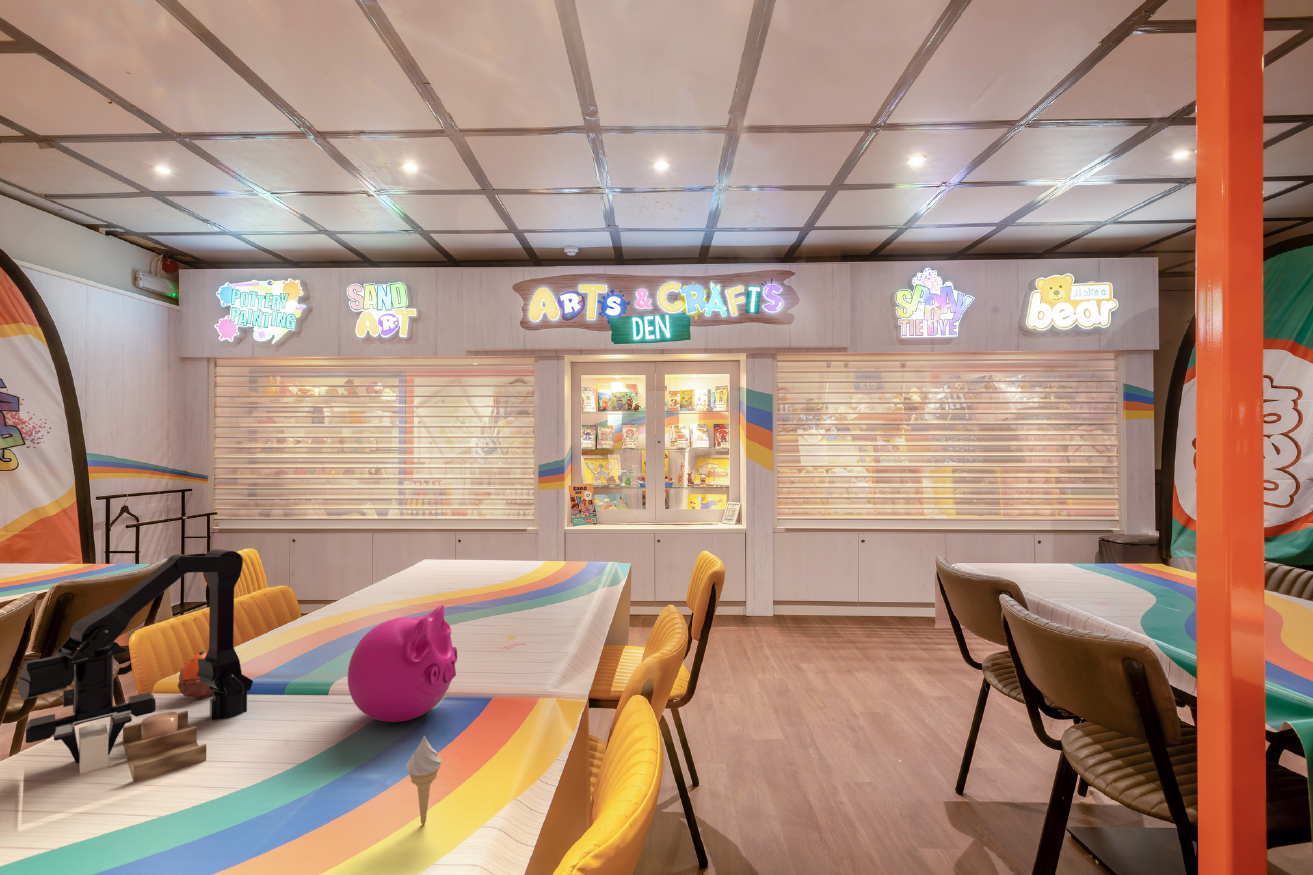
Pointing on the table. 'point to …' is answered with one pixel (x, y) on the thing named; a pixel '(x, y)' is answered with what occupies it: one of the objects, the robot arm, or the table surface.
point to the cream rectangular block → (93, 747)
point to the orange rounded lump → (193, 680)
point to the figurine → (403, 667)
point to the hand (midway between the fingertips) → (93, 758)
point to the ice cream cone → (423, 773)
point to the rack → (162, 750)
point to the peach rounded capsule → (159, 725)
